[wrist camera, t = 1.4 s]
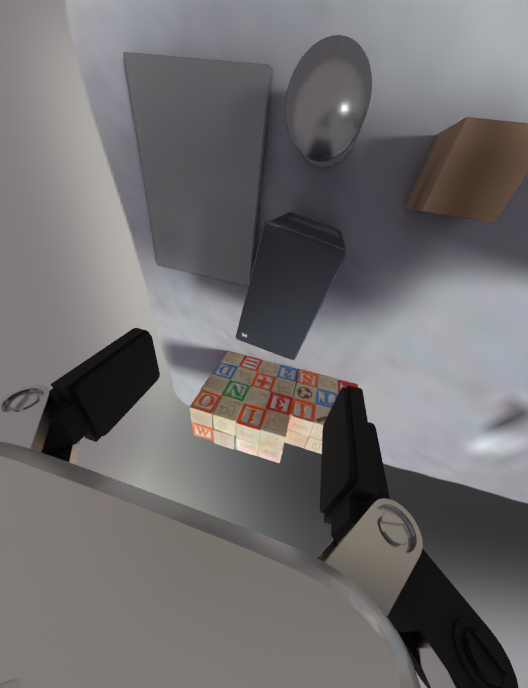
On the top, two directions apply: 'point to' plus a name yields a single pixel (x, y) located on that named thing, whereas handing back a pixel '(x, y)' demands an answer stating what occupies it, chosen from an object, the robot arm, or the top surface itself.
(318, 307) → the small box
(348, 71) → the metallic grey egg
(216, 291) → the top surface
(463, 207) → the walnut block
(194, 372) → the top surface
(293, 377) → the stack of blocks
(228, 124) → the slate board
